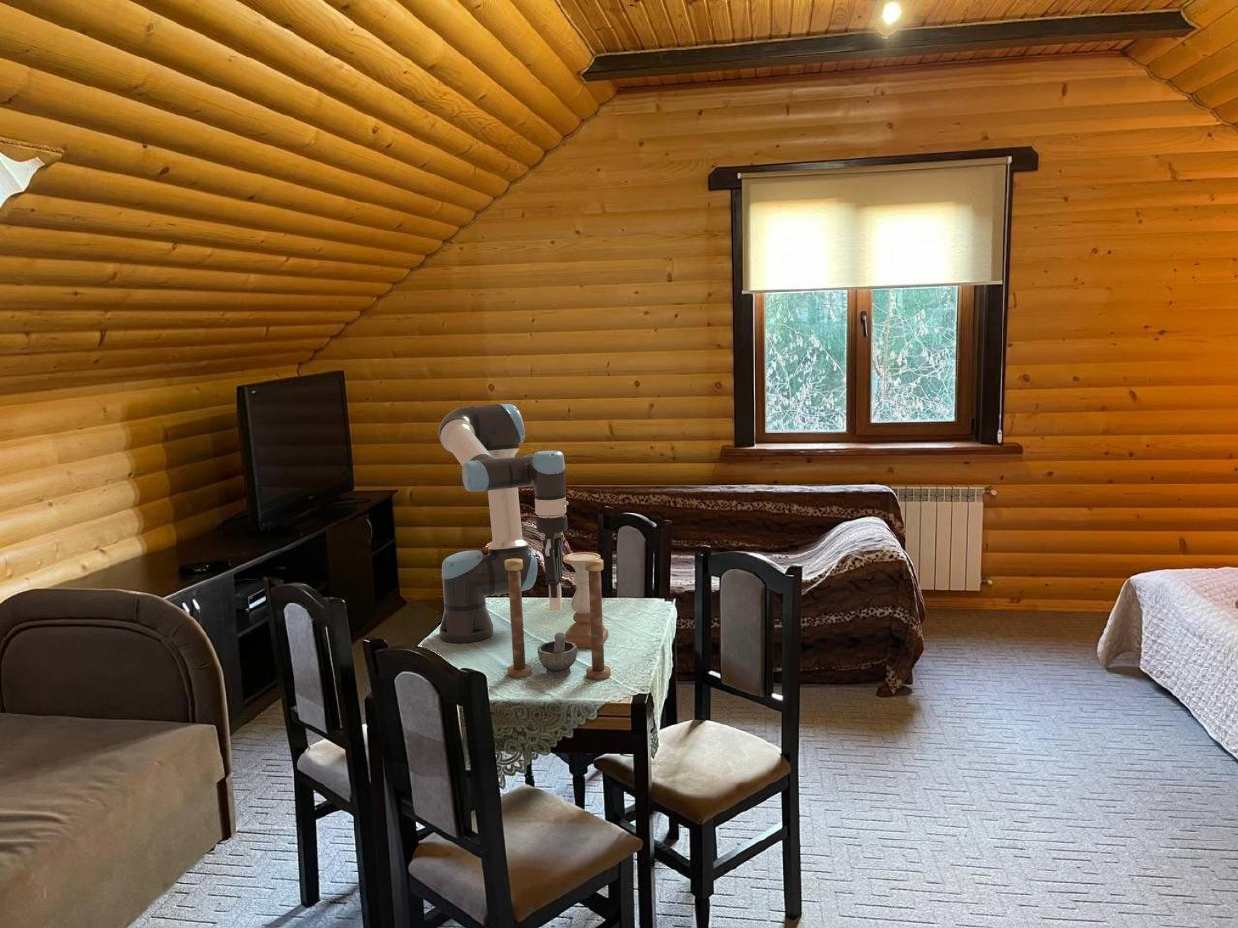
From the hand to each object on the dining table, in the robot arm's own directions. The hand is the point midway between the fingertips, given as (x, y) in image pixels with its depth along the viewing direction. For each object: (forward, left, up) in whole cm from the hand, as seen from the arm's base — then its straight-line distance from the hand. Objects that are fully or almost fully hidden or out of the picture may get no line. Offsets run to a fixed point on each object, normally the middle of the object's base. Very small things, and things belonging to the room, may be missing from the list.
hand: (555, 609), depth 229 cm
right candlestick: (+10, 0, -17) cm, 20 cm away
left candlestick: (-10, 0, -17) cm, 20 cm away
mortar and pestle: (0, 0, -17) cm, 17 cm away
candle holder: (+2, +25, -17) cm, 30 cm away
